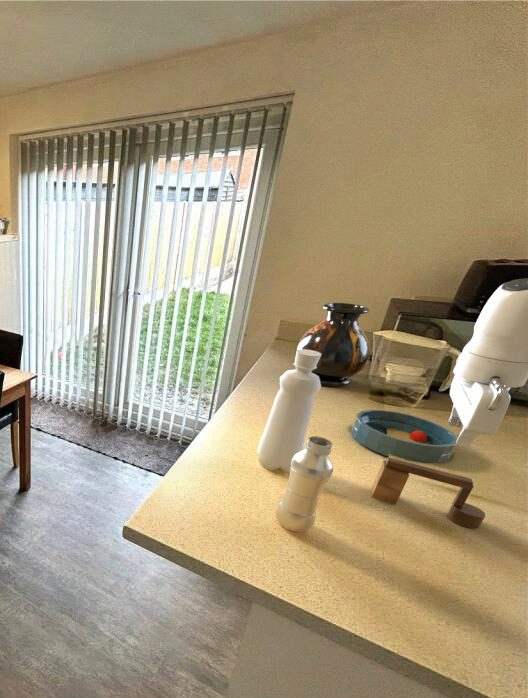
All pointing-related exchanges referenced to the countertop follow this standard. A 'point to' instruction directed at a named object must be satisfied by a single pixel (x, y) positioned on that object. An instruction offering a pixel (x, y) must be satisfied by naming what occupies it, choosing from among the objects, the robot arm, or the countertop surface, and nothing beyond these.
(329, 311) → the black vase
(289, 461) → the bottle
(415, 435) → the tomato
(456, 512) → the bent rod on disc
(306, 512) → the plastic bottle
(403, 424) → the blue ring
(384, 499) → the wooden toy brick
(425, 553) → the countertop surface
